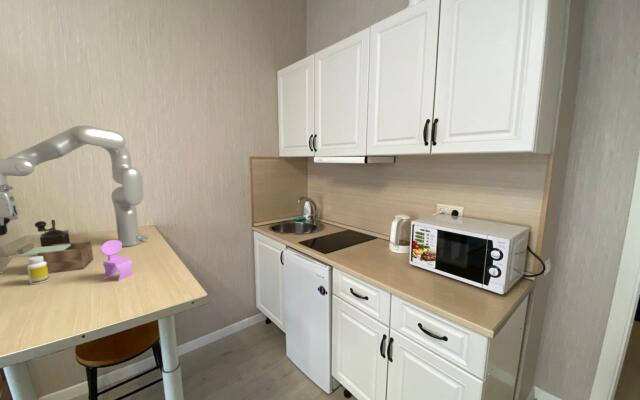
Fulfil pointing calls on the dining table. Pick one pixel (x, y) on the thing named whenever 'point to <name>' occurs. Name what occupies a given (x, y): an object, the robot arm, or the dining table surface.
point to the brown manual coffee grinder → (52, 234)
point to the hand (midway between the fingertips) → (1, 234)
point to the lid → (39, 249)
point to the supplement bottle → (37, 270)
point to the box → (69, 257)
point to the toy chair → (116, 260)
